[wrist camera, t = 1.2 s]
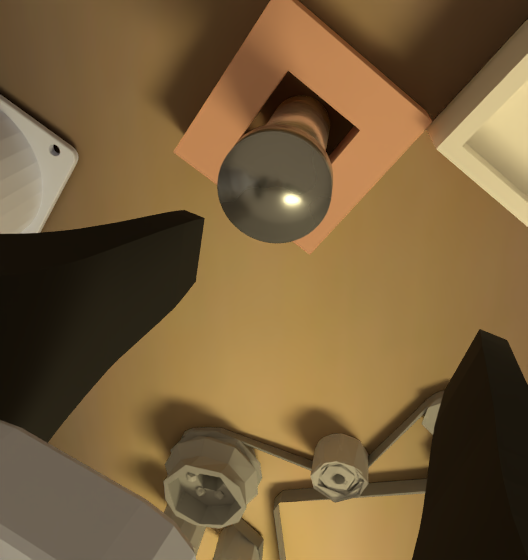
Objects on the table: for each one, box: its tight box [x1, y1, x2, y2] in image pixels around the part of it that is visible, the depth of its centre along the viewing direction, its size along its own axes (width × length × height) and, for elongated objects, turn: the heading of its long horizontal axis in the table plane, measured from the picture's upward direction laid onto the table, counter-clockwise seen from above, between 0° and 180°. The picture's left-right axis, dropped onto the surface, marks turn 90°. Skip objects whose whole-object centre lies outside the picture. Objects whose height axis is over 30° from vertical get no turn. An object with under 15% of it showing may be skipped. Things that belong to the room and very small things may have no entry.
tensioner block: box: [174, 0, 432, 254], centre depth 20 cm, size 7×7×2 cm
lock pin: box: [217, 95, 333, 243], centre depth 17 cm, size 3×3×8 cm
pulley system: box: [164, 390, 445, 560], centre depth 31 cm, size 27×5×15 cm
